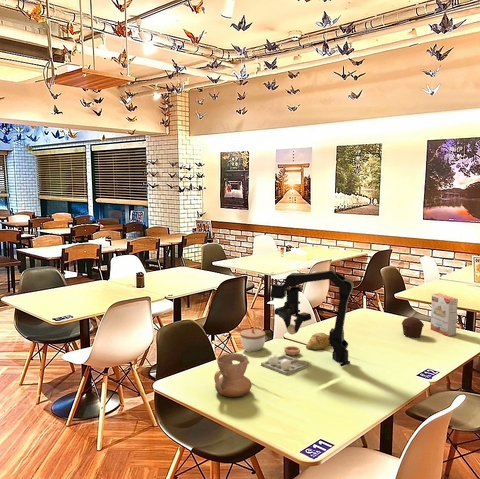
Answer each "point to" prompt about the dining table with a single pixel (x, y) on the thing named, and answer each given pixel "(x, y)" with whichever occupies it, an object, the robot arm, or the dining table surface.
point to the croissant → (318, 341)
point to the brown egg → (291, 329)
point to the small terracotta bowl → (292, 350)
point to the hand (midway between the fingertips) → (292, 331)
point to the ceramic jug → (232, 375)
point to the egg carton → (295, 365)
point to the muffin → (412, 327)
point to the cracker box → (444, 314)
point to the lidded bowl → (252, 339)
